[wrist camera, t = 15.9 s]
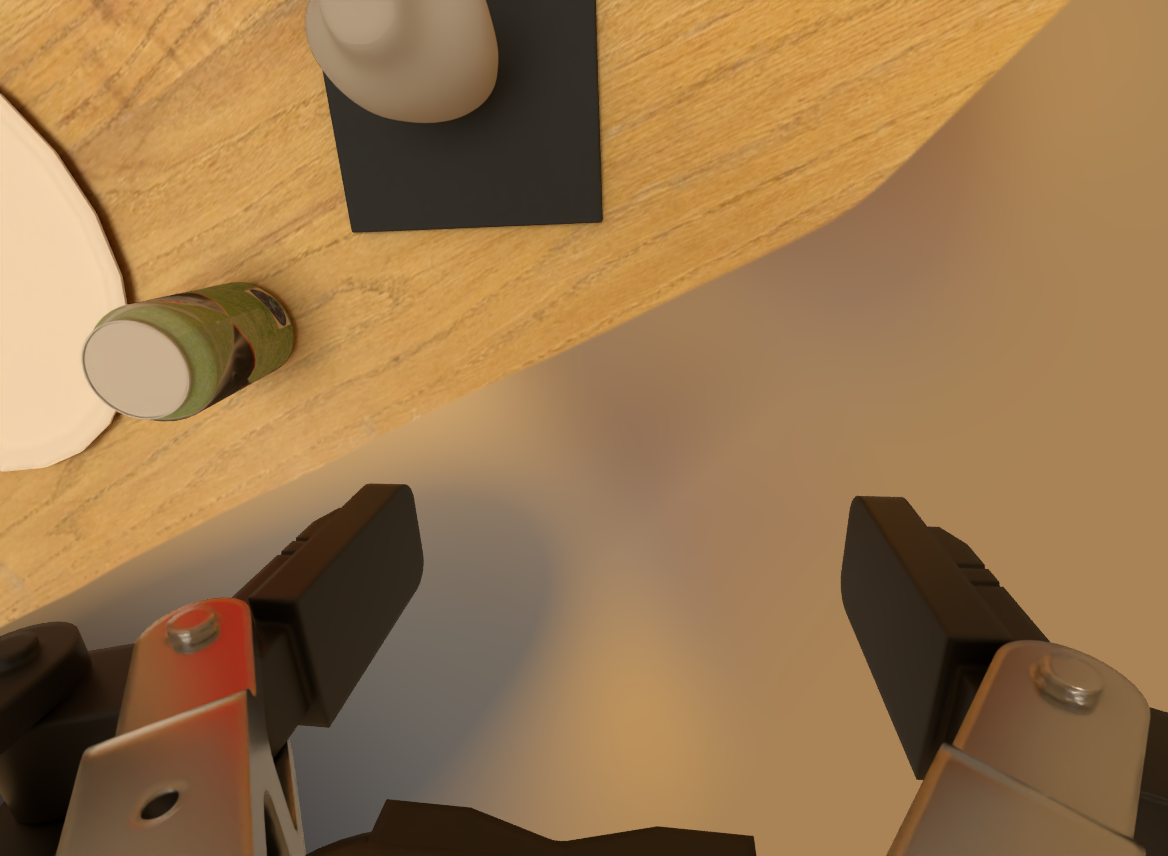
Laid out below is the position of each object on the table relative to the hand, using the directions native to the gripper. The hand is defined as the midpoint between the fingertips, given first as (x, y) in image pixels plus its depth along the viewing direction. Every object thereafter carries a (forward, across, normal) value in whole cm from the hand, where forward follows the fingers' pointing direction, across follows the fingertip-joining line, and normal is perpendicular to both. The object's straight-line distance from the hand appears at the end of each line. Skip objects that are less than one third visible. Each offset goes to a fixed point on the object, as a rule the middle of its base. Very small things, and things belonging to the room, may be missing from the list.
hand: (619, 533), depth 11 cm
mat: (+27, +10, -12) cm, 31 cm away
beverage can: (+27, +25, +1) cm, 37 cm away
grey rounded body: (+26, +10, -12) cm, 30 cm away
